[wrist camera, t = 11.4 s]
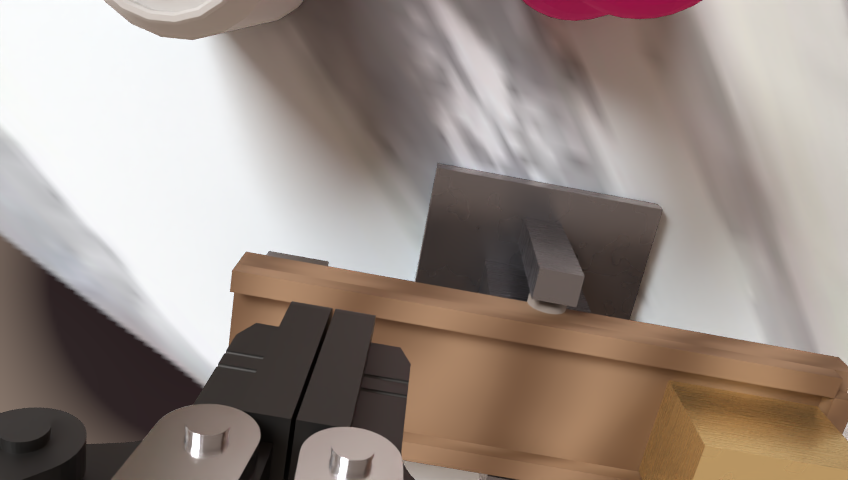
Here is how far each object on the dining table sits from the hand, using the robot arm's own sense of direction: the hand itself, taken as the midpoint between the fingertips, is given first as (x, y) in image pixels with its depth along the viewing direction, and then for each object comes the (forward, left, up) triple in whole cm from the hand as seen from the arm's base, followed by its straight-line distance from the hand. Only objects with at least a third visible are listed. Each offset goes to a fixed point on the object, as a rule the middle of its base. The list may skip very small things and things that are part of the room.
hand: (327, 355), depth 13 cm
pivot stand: (-8, +11, -27) cm, 30 cm away
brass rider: (-17, +11, -18) cm, 28 cm away
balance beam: (-8, +11, -23) cm, 26 cm away
